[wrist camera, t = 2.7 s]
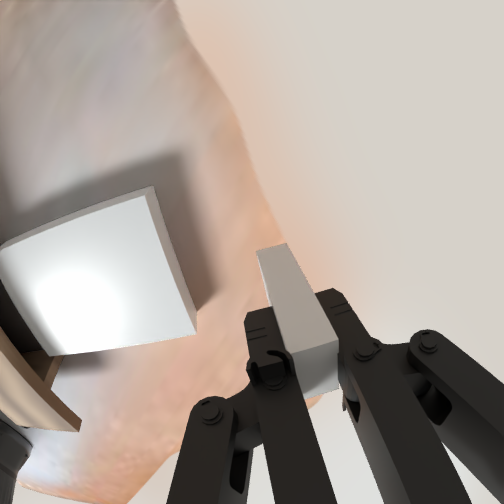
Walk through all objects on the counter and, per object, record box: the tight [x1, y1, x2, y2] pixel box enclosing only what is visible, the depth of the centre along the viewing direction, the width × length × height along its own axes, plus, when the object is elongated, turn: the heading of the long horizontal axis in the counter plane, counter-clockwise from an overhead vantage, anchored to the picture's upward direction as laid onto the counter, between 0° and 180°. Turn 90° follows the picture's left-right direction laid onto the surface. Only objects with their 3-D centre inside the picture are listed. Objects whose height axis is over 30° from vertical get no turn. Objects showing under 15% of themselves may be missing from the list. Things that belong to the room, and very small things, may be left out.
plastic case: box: [0, 185, 197, 356], centre depth 18 cm, size 14×10×3 cm
